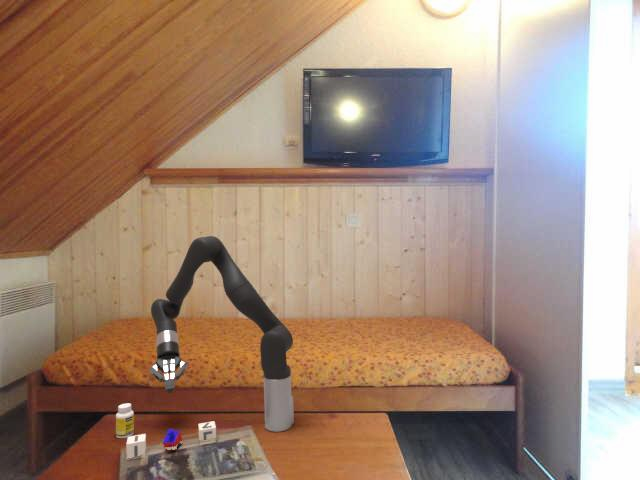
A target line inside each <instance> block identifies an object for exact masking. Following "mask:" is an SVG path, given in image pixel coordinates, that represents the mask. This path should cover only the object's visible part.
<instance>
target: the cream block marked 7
mask: <svg viewBox="0 0 640 480" xmlns="http://www.w3.org/2000/svg"><path fill="white" fill-rule="evenodd" d="M211 438H216V439H217V426H216V422H215V421H214V420H213V421H207V422H201V423H198V441H199V440H206V439H211Z"/></svg>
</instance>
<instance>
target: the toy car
mask: <svg viewBox="0 0 640 480" xmlns="http://www.w3.org/2000/svg"><path fill="white" fill-rule="evenodd" d="M165 435H166V436H165V437H164V439H163V441H162V444H163V448H165V447H172V446H173V447H174V446H176V445H177V444H178V443H179V442H180V441H182V440H183V438H182V435H181V431H180V430H174V429H173V428H169V429H168V430H167V433H166V434H165Z"/></svg>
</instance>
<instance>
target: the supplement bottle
mask: <svg viewBox="0 0 640 480" xmlns="http://www.w3.org/2000/svg"><path fill="white" fill-rule="evenodd" d="M117 411H118V412H117V413H116V414H115V436H116V437H115V438H117V439H128V437H130V436H133V435H134V433H135V412H134V410H132V403H128V402H127V403H121V404H120V405H118V407H117Z"/></svg>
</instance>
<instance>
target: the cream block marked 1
mask: <svg viewBox="0 0 640 480" xmlns="http://www.w3.org/2000/svg"><path fill="white" fill-rule="evenodd" d="M126 439H127V440H126V446H125V447H126V460H127V459H128V458H132V457H137V456H140V455H142V454H145V451H146V452H147V434H146V433H141V434H137V435H136V434H135V435H131V436H129V437H127V438H126Z"/></svg>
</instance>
